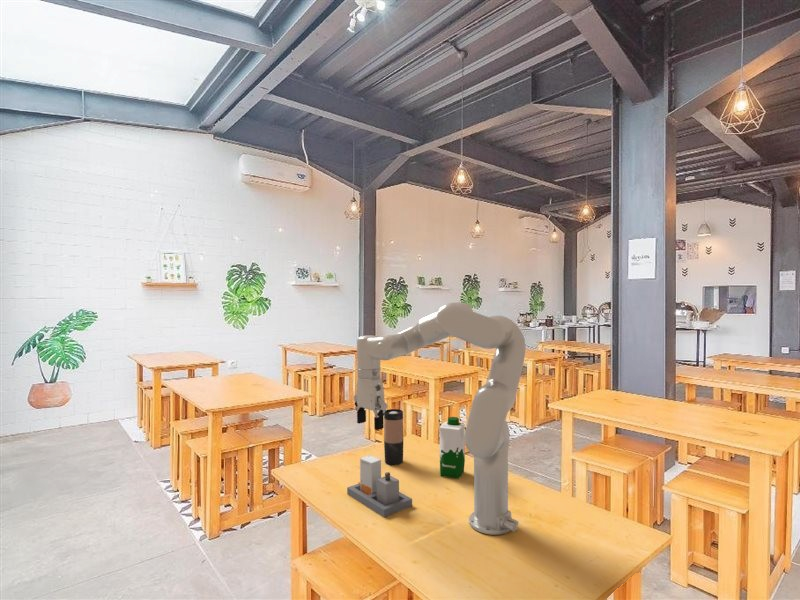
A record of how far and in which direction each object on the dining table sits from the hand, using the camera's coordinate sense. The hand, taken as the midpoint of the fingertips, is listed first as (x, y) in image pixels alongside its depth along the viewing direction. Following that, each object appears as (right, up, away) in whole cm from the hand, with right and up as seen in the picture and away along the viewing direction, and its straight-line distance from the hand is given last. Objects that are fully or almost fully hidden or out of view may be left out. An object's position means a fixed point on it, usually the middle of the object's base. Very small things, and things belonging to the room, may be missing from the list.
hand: (370, 425), depth 147 cm
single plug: (+6, -23, -7) cm, 25 cm away
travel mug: (+7, -23, +30) cm, 39 cm away
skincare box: (0, -23, 0) cm, 23 cm away
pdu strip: (+3, -23, -3) cm, 24 cm away
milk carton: (+29, -23, +18) cm, 41 cm away
